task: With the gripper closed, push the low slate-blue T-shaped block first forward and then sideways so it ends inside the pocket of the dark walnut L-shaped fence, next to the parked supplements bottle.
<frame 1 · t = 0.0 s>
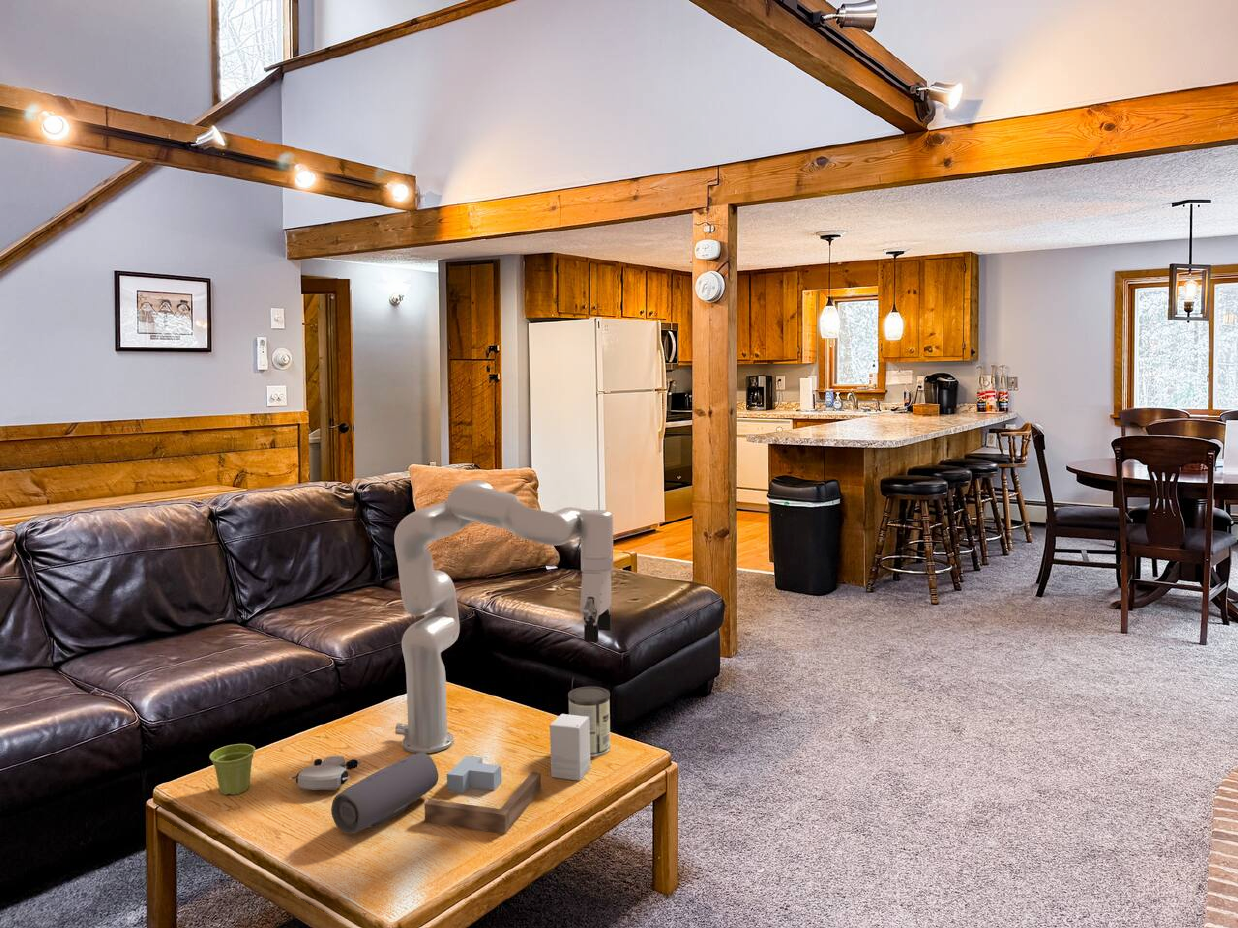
hand: (597, 635, 211), 31 cm above the table, fingers open, 9 cm apart
supplement box: (570, 773, 210), on the table
robot toy: (328, 783, 206), on the table
bluetooth speaker: (387, 816, 190), on the table
tee block: (473, 783, 205), on the table
plant pot: (234, 790, 203), on the table
coffee can: (589, 749, 223), on the table
walnut fence: (487, 805, 194), on the table
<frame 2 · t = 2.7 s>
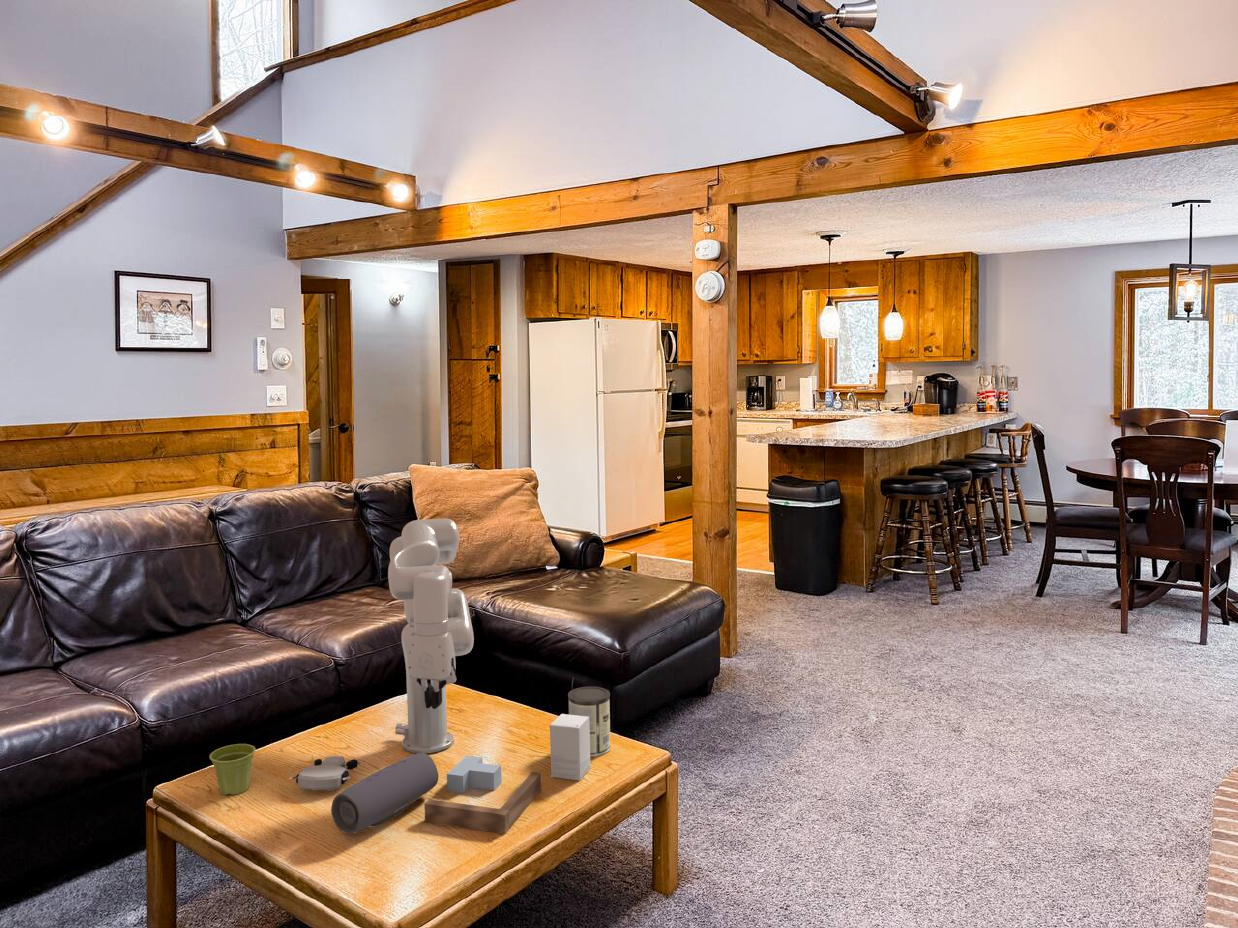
hand: (433, 706, 206), 17 cm above the table, fingers closed
nothing on the table moved.
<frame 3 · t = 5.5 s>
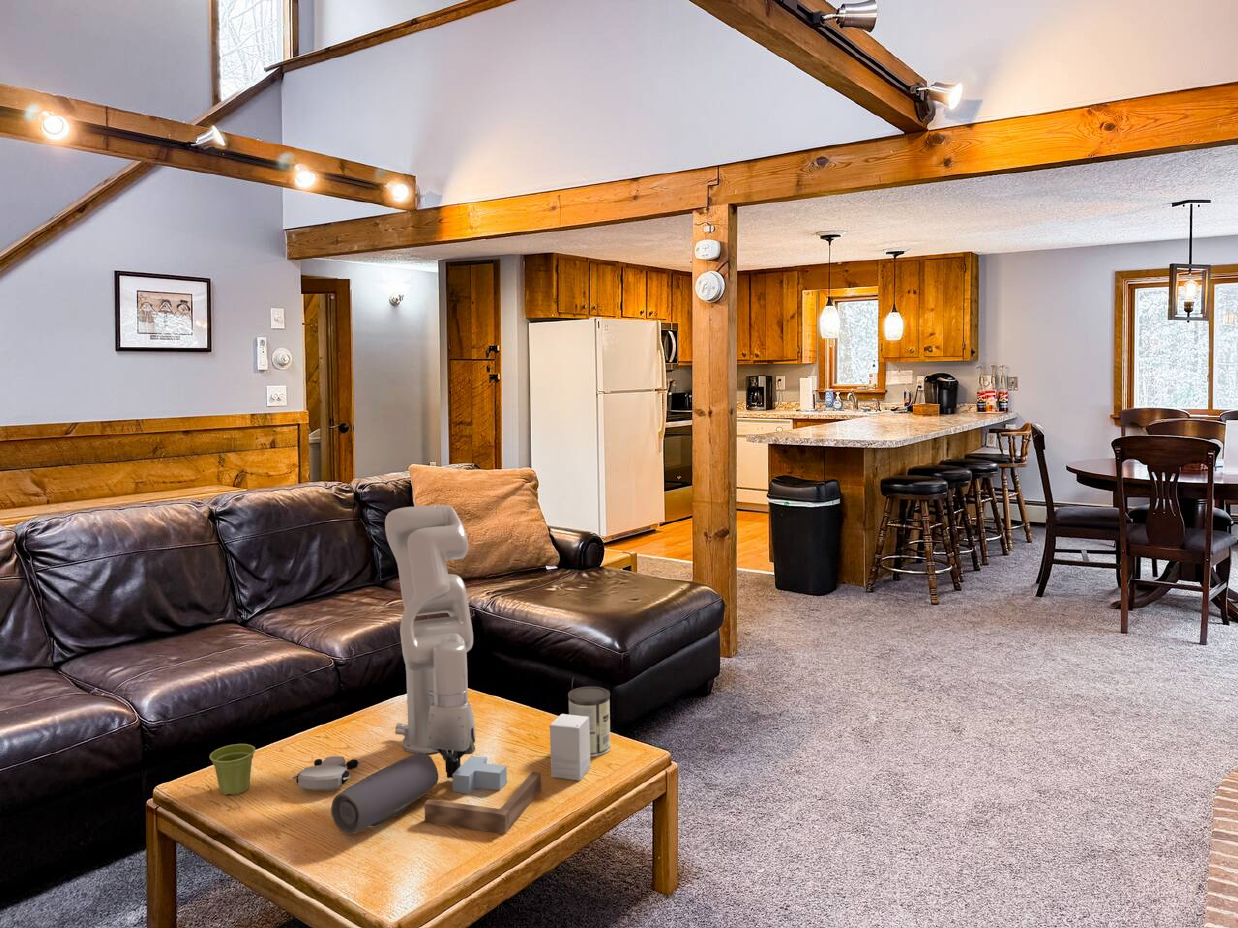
hand: (453, 775, 206), 1 cm above the table, fingers closed
tee block: (478, 783, 204), on the table, touching gripper
everything else where it was.
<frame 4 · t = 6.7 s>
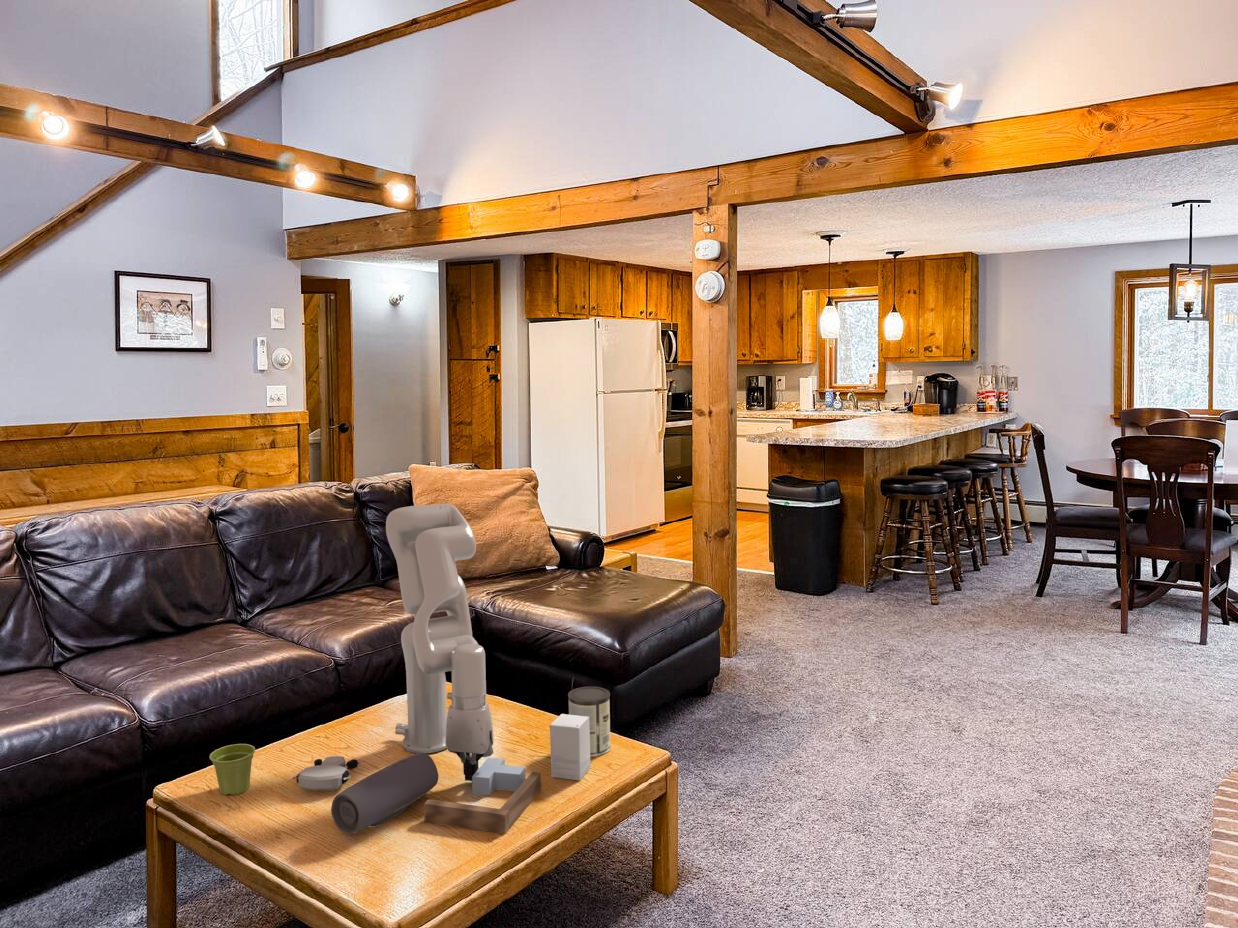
hand: (471, 778, 205), 1 cm above the table, fingers closed
tee block: (497, 785, 204), on the table, touching gripper
everything else where it was.
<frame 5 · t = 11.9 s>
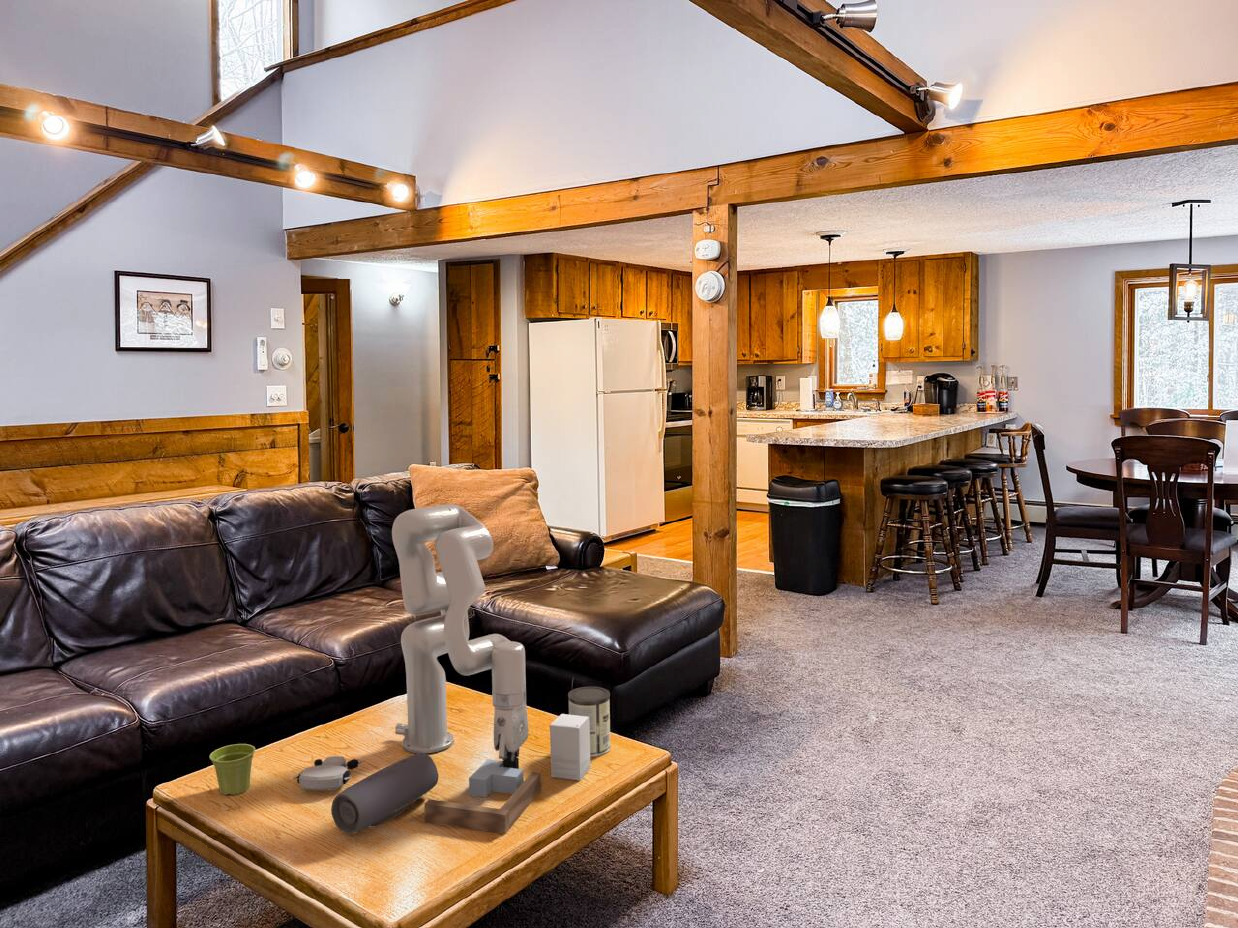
hand: (511, 775, 206), 1 cm above the table, fingers closed
tee block: (495, 787, 203), on the table, touching gripper
everything else where it was.
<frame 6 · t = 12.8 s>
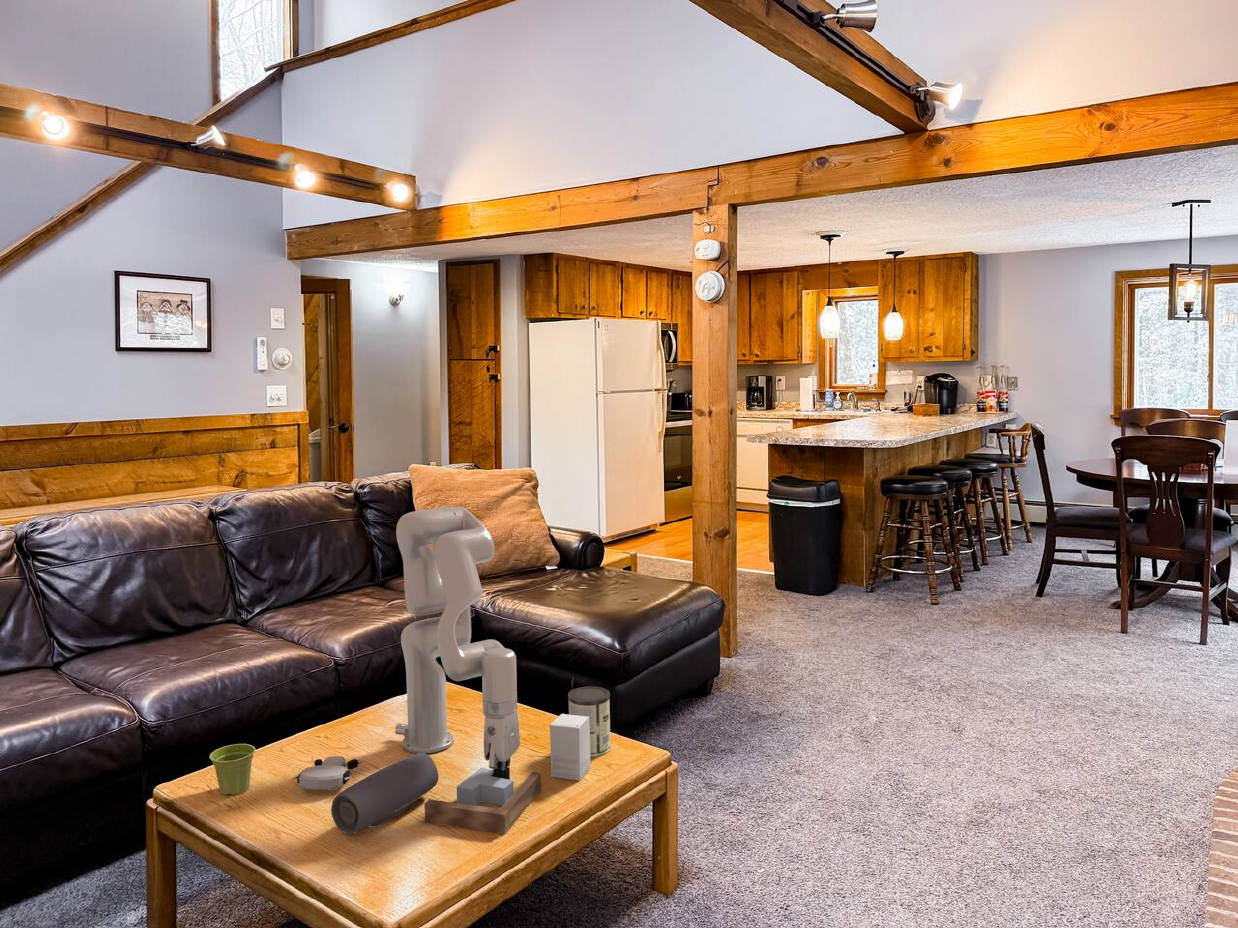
hand: (501, 785, 201), 1 cm above the table, fingers closed
tee block: (485, 797, 198), on the table, touching gripper
everything else where it was.
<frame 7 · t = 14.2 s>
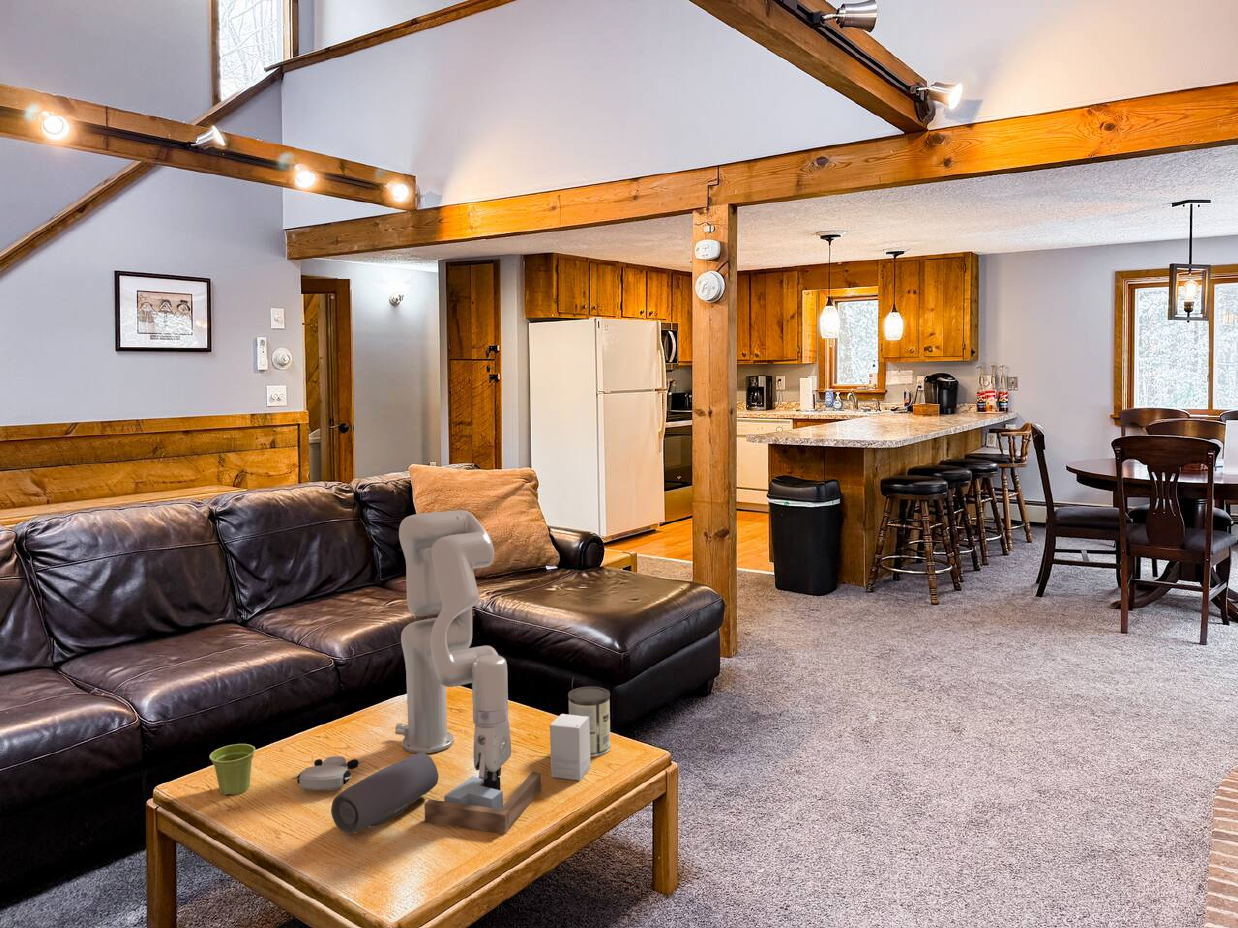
hand: (492, 795, 196), 1 cm above the table, fingers closed
tee block: (474, 807, 193), on the table, touching gripper
everything else where it was.
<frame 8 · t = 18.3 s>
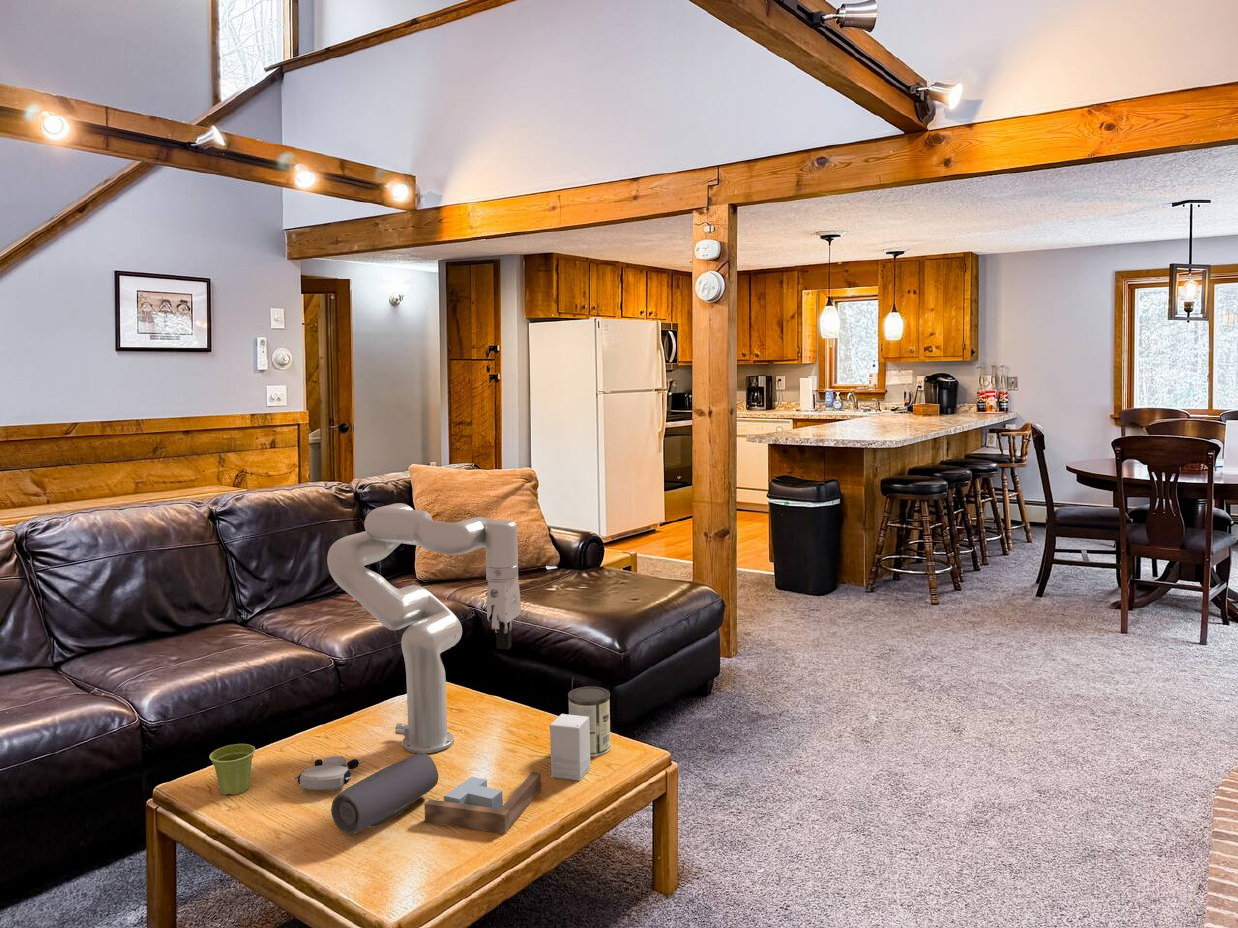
hand: (503, 647, 216), 27 cm above the table, fingers closed
tee block: (474, 807, 193), on the table
everything else where it was.
at the end: tee block inside the target area (1.1 cm from its centre), on the table; tee block tilted 1°; tee block moved 11.5 cm from its start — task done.
